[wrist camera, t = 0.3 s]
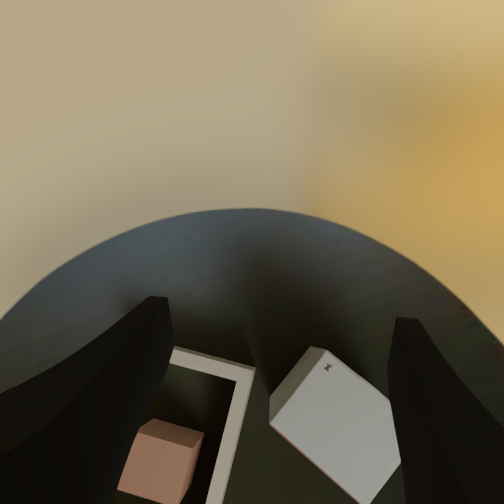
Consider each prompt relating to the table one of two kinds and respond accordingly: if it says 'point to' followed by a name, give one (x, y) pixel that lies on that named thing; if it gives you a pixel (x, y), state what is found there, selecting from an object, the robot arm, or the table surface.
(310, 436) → the small box
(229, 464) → the u-shaped wall
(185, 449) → the block
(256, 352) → the table surface
